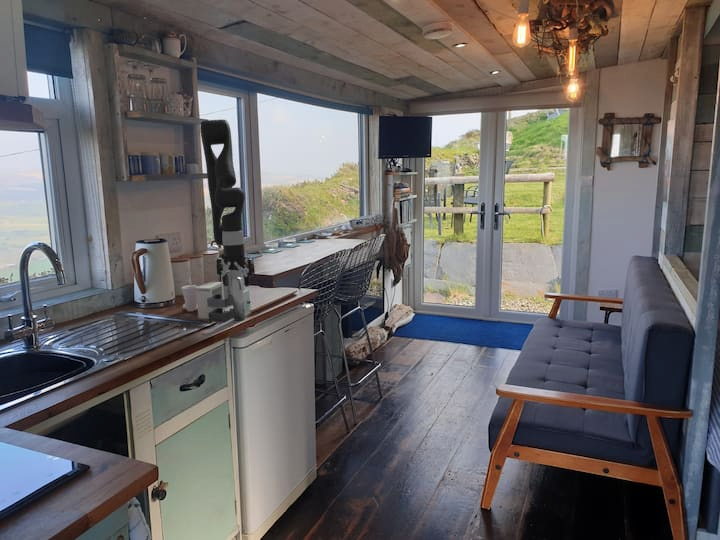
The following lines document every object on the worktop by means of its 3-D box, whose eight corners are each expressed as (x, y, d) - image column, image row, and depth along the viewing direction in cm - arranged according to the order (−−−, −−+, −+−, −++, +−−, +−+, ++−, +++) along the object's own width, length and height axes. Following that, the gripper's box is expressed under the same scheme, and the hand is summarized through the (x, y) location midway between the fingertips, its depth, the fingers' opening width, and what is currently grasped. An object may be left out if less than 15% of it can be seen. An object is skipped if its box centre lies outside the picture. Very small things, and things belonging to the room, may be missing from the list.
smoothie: (197, 312, 215) (193, 277, 212) (181, 312, 215) (177, 278, 212) (202, 307, 221) (198, 274, 218) (186, 308, 221) (183, 274, 218)
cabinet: (211, 310, 216) (209, 281, 213) (241, 312, 213) (239, 282, 210) (194, 320, 204) (191, 289, 201) (226, 321, 201) (223, 290, 198)
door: (232, 320, 202) (228, 278, 198) (244, 313, 211) (241, 273, 208) (242, 321, 201) (238, 279, 197) (254, 313, 210) (251, 273, 207)
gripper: (255, 241, 199) (258, 284, 202) (220, 241, 203) (224, 283, 206) (246, 244, 192) (249, 289, 195) (210, 244, 195) (214, 287, 199)
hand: (236, 286), depth 200 cm, fingers open, 8 cm apart
